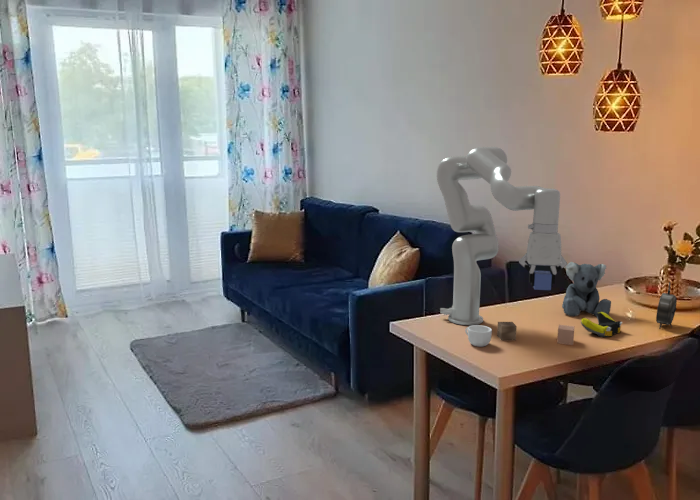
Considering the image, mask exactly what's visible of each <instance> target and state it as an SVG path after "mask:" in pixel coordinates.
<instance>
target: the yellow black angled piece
mask: <svg viewBox="0 0 700 500" xmlns="http://www.w3.org/2000/svg"><path fill="white" fill-rule="evenodd" d="M596 319H597V322H598V323H596V322H593V321H592V320H590V319H588V318H586V317H583V318H581V321H580V324H581V326H582V327H583V328H584V330H586V331H587V332H589V333H592V334H596V335H597V337H599V338H600V337H601V338H604V337H605V338H606V337H613V336H614V335H617V334H618V333H619V334H620V332H621V328H622V324H623V321H620V320H618V321H615V320H614V319H613V318H612V317H611V316H610V315H607V314H606V313H604V312H599V313H597V316H596Z"/></svg>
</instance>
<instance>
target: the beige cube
mask: <svg viewBox="0 0 700 500" xmlns="http://www.w3.org/2000/svg"><path fill="white" fill-rule="evenodd" d="M557 326H558V327H557V340H556V343H557V344H560V345H569V346H574V342H575V341H574V340H575V326H574V325H564V324H558V325H557Z"/></svg>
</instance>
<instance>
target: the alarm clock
mask: <svg viewBox="0 0 700 500" xmlns="http://www.w3.org/2000/svg"><path fill="white" fill-rule="evenodd" d="M671 286H672V285H671V281H670V282H668V287H667V289H668V290H667V293H666V292H663V293H661V295H660V297H659V300H658V305H657V309H656V314H655V315H656V316H655V318H656V319H655V320H656V323H657V324H659V327H658V329H659V330H660V329H662V325H665V326H666V325H667V326H669V325H670V327H671V328H673V326H672V323H673V321H674V318H675V313H676V311H677V309H678V308H677V303H678V302H677V300H678V299H677V297H676V295H674V294H671Z"/></svg>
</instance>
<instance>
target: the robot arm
mask: <svg viewBox="0 0 700 500" xmlns="http://www.w3.org/2000/svg"><path fill="white" fill-rule="evenodd" d="M511 176H512V169H511V167H510V165H509V164H508V156H507V154H506V152H505V150H503V148H501V147H498V146H481V147H475V148H473V149H471V150H469V152H468V153H467V155H465V156H464V155H462V156H461V155H459V156H458V155H455V156H448V157H446V158H444V159H442V160H441V161H440V163H439V164H438V166H437V170H436V182H437V185H438V187H439V190H440V192H441V194H442V196H443V201H444V205H445V209H446V213H447V216H448V219H449V220H448V221H449V225H450V228H451V229H452V231H454V232H456V233H469V232H474V233H472V234H465V235H461V236H458V237H457V238H456V239H455V240H454V241H453V243H452V246H451V249H452V250H451V251H452V257H453V258H452V259H453V293H452V295H453V296H452V297H453V298H452V305H451V307H449V308H445V307H440V308H439V310H440V311H439V312H440V314H443V316H445V315H446V316H448V317H447V318H448V319H447V320H448V322H451V323H453V324H456V325H460V326H461V325H462V326H472V325H480V324H481V323H483V322H484V318H483V316H481V315H480V304H481V303H480V301H481V299H480V298H481V282H482V281H481V277H482V275H481V270H480V267H479V265H478V263H477V261H483V260H490V259H492V258H494V257H495V258H496V256H497V254H498V252H499V240H498V237H497V236H498V235H497V232H496V227H495V225H494V221H493V217H492V214H491V212H490V211H489V209H488V207H486V206H484V205H480V204H471V203H470V200H469V196H468V193H467V191H466V189H465V188H464V186H463V185H462V184H461V183H460V182H459V181H466V180H467V181H468V180H469V181H470V180H479V179H483V180H484V181H485V182H487V183H488V184H489V187H490V191H491V194H492V196H493V198H494V199H495V200H496V201H497V202H498V203H499V204H501V205H502V206H503V207H504V208H506V209H507V210H509V211H516V212H517V211H526V210H527V211H528V210H529V211H530V210H533V217H532V219H533V220H532V223H530V224H528V225H527V229H528V230H531V231H530V232H529V236H528V240H527V246H526V247H527V248H526V252H525V254H524V255H523V256H522V257H521V258H520V259H519V260H518V263H519V264H520V265H521V266H522V267H523V268H524V269H525V270H526V271H528V273H529V274H528V275H529V276H528V284H530V285H531V287H533V286H534V278H535V274H534V271H535V270H536V266H545V267H550V270H551V271H550V273H551V274H552V280H551V288H553V286H554V285H555V283H556V275H557V273H559V272H560V271H561V270H562V269H563V268H565V267H566V266H567V264H568V262H567V261H566V259H565V258H564V256H562V238H561V233H560V232H558V231H559V221H560V220H559V218H560V206H561V205H560V202H561V193H560V192H561V191H560V190H558V189H555V188H546V187H542V186H538V185H524V186H522V185H521V186H514V185H513V184H511V183H510V182H509V180H510V178H511ZM527 263H528V264H527Z"/></svg>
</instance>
